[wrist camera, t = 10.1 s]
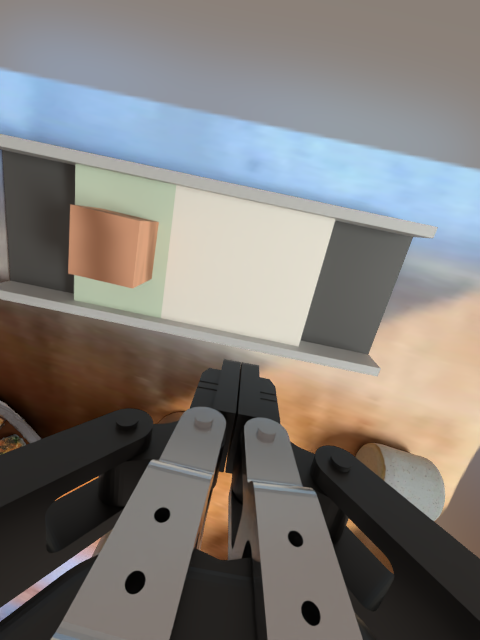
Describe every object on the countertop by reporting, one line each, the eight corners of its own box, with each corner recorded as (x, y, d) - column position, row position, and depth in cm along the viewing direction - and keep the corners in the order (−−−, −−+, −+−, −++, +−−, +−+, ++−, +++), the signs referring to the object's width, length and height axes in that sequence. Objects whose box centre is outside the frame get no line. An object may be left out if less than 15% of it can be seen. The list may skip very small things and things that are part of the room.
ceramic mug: (365, 427, 38) (390, 476, 31) (421, 444, 39) (459, 496, 31) (333, 483, 42) (349, 538, 34) (385, 498, 42) (412, 555, 35)
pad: (182, 188, 30) (176, 185, 28) (167, 311, 34) (160, 318, 32) (89, 168, 30) (75, 163, 27) (86, 295, 34) (73, 300, 32)
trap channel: (414, 227, 30) (437, 227, 26) (364, 360, 35) (377, 376, 31) (4, 140, 29) (-33, 127, 26) (13, 287, 34) (-17, 295, 31)
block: (158, 222, 29) (139, 221, 24) (151, 279, 31) (132, 288, 26) (101, 208, 29) (70, 204, 24) (97, 266, 31) (68, 273, 26)
